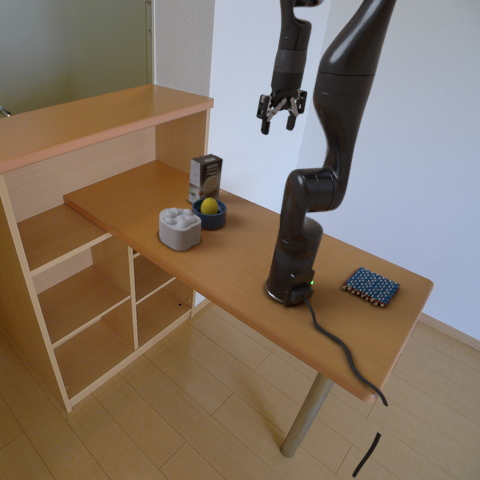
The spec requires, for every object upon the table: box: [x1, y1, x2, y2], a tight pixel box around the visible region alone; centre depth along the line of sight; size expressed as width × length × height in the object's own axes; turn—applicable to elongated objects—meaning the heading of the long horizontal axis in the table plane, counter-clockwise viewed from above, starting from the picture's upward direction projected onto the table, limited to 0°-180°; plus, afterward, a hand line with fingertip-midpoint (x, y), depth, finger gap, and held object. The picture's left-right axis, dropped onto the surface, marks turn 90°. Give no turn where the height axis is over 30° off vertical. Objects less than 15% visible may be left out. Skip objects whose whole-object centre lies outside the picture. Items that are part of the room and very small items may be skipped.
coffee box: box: [188, 153, 224, 204], centre depth 125 cm, size 9×6×16 cm
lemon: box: [201, 198, 218, 215], centre depth 116 cm, size 6×6×8 cm
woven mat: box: [342, 266, 402, 308], centre depth 91 cm, size 10×11×2 cm
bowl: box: [191, 198, 228, 230], centre depth 117 cm, size 11×11×6 cm
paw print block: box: [158, 207, 202, 252], centre depth 109 cm, size 10×13×9 cm
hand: (277, 132), depth 100 cm, fingers open, 8 cm apart
